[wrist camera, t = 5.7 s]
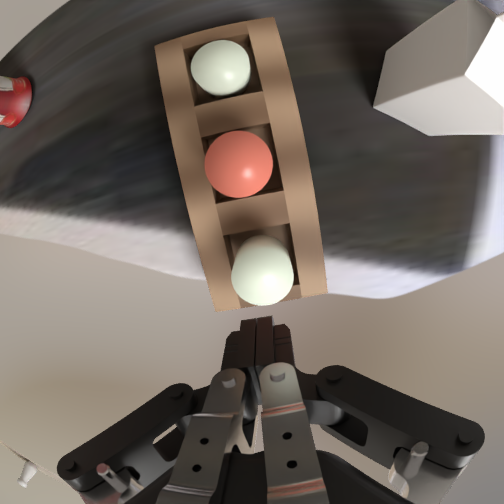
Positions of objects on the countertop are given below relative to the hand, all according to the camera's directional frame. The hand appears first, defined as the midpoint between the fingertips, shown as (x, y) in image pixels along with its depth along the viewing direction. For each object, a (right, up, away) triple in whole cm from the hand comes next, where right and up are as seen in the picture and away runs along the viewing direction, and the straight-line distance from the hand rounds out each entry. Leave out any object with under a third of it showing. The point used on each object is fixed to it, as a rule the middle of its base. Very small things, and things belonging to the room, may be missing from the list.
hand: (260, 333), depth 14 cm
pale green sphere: (-3, +19, +8) cm, 21 cm away
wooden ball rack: (-1, +12, +12) cm, 17 cm away
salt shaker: (-86, -79, +47) cm, 126 cm away
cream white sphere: (+1, +3, +10) cm, 11 cm away
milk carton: (+16, +20, +9) cm, 27 cm away
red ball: (-1, +11, +8) cm, 13 cm away
